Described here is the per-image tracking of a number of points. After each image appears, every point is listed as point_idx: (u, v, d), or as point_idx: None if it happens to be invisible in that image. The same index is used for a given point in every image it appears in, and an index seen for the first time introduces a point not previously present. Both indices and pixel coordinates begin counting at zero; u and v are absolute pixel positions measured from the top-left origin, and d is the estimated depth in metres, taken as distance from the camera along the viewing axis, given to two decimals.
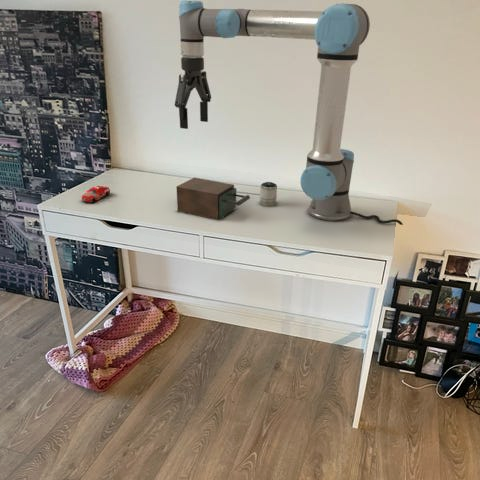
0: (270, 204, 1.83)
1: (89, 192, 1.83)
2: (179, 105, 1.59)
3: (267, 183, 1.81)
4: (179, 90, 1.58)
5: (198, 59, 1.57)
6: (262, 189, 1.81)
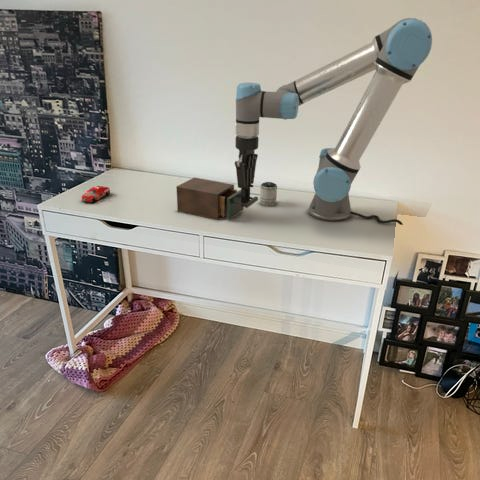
0: (270, 204, 1.83)
1: (89, 192, 1.83)
2: (242, 187, 1.63)
3: (267, 183, 1.81)
4: (239, 175, 1.60)
5: (253, 139, 1.55)
6: (262, 189, 1.81)
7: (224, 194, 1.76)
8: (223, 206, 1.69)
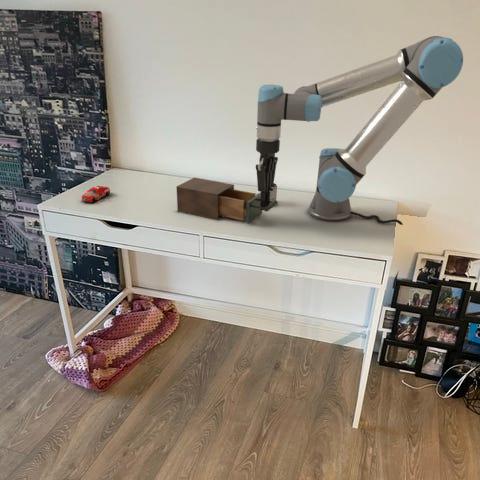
0: None
1: (89, 192, 1.83)
2: (263, 191, 1.60)
3: None
4: (259, 178, 1.57)
5: (275, 142, 1.52)
6: None
7: (242, 198, 1.73)
8: (242, 210, 1.66)
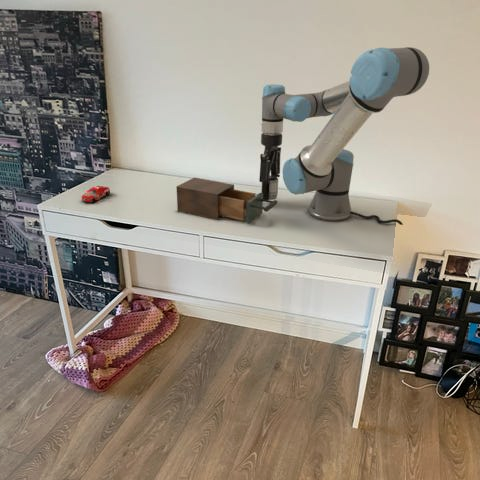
0: (271, 197, 1.81)
1: (89, 192, 1.83)
2: (264, 181, 1.74)
3: None
4: (262, 168, 1.72)
5: (278, 136, 1.69)
6: None
7: (242, 198, 1.73)
8: (242, 210, 1.66)
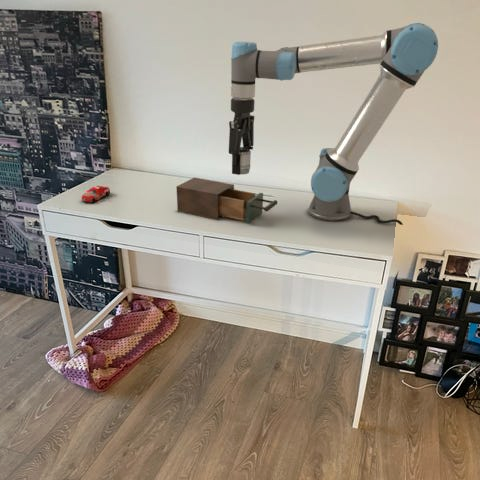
0: (243, 171, 1.63)
1: (89, 192, 1.83)
2: (233, 152, 1.56)
3: None
4: (231, 137, 1.54)
5: (249, 101, 1.51)
6: None
7: (242, 198, 1.73)
8: (242, 210, 1.66)
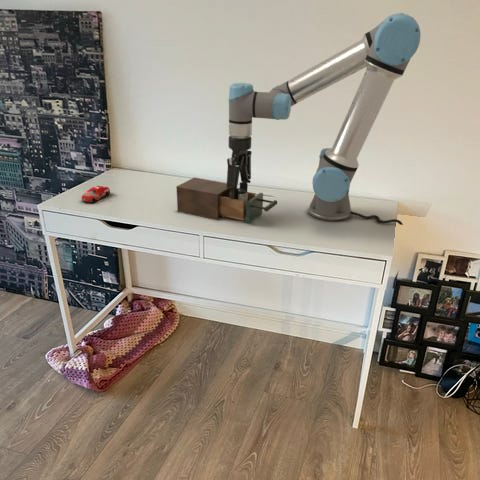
0: None
1: (89, 192, 1.83)
2: (231, 188, 1.61)
3: None
4: (229, 174, 1.59)
5: (246, 139, 1.56)
6: None
7: None
8: (242, 210, 1.66)
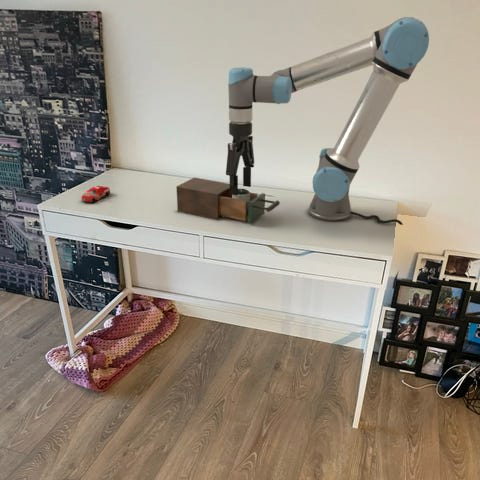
0: None
1: (89, 192, 1.83)
2: (230, 174, 1.57)
3: (239, 190, 1.68)
4: (229, 159, 1.56)
5: (247, 125, 1.54)
6: (234, 196, 1.67)
7: None
8: (244, 210, 1.66)
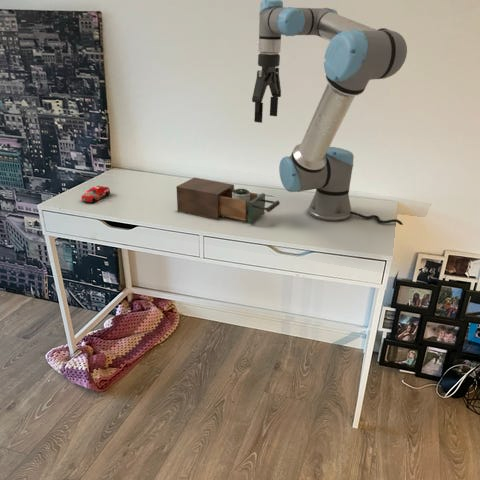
0: None
1: (89, 192, 1.83)
2: (257, 100, 1.66)
3: (239, 190, 1.68)
4: (257, 85, 1.65)
5: (275, 56, 1.64)
6: (234, 196, 1.67)
7: None
8: (244, 210, 1.66)
